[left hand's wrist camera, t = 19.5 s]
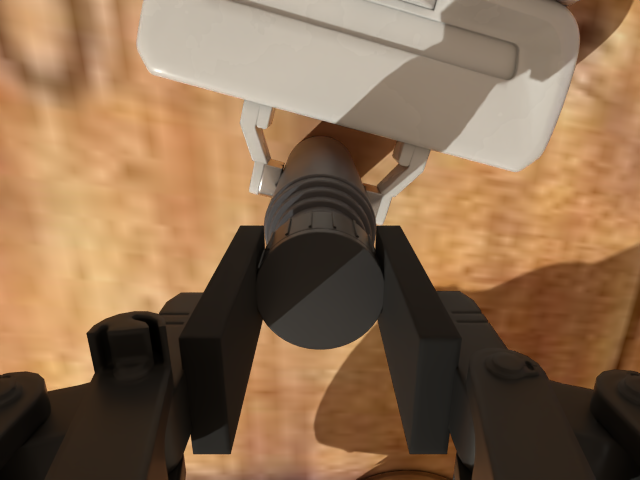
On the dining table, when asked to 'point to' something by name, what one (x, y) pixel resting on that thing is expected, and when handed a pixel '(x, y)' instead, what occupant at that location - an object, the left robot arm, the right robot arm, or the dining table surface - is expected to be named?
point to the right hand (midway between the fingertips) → (316, 207)
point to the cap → (320, 281)
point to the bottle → (320, 186)
